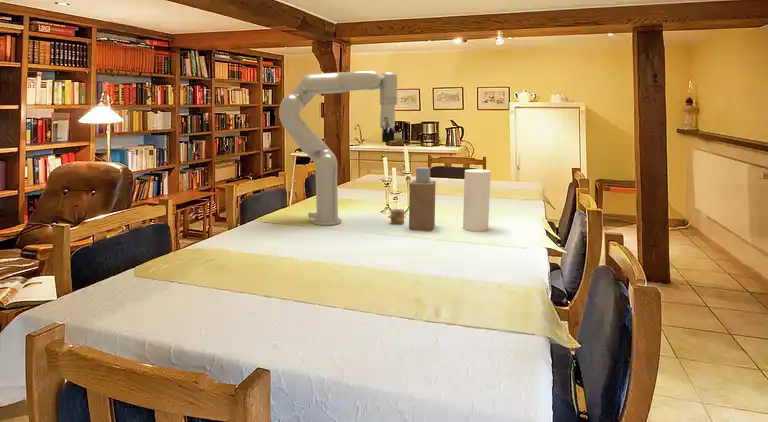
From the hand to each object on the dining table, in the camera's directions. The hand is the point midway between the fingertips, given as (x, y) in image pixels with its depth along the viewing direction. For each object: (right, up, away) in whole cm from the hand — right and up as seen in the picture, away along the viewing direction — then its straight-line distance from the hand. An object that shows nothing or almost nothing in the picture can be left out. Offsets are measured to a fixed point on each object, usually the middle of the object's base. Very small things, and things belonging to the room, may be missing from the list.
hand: (388, 141), depth 228 cm
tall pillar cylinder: (+38, -39, -6) cm, 54 cm away
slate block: (+15, -19, -9) cm, 25 cm away
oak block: (+4, -36, +3) cm, 37 cm away
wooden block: (+15, -38, -5) cm, 41 cm away
